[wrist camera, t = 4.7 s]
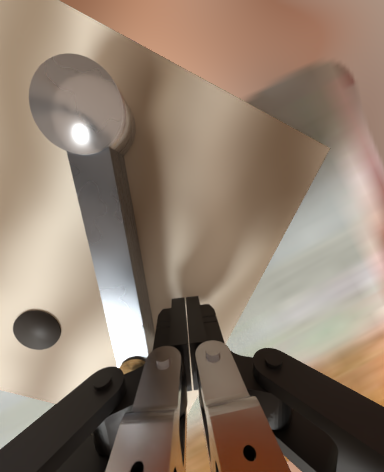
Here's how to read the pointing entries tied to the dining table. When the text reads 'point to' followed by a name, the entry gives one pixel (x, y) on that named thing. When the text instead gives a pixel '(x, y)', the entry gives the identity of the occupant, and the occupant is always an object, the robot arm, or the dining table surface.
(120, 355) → the leg
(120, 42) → the hole board
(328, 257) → the dining table surface
